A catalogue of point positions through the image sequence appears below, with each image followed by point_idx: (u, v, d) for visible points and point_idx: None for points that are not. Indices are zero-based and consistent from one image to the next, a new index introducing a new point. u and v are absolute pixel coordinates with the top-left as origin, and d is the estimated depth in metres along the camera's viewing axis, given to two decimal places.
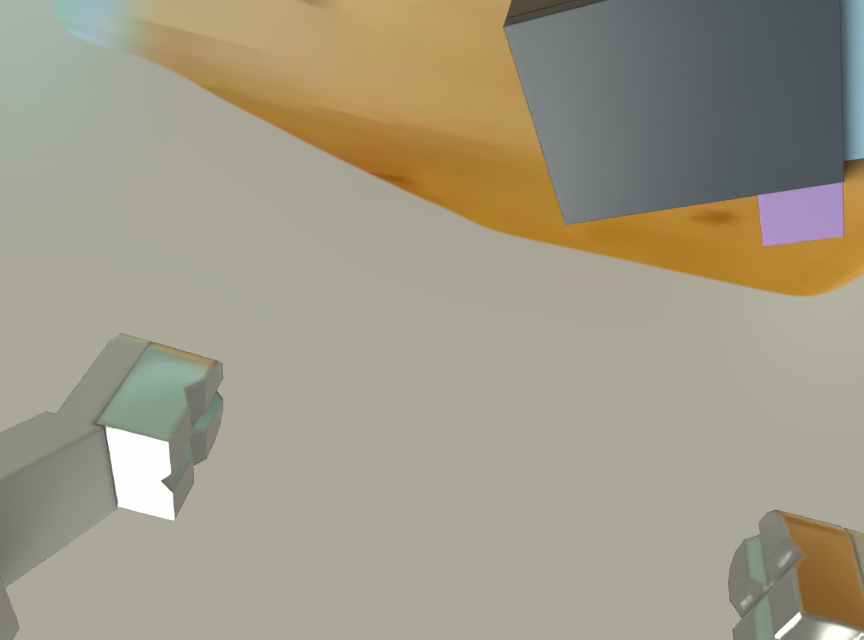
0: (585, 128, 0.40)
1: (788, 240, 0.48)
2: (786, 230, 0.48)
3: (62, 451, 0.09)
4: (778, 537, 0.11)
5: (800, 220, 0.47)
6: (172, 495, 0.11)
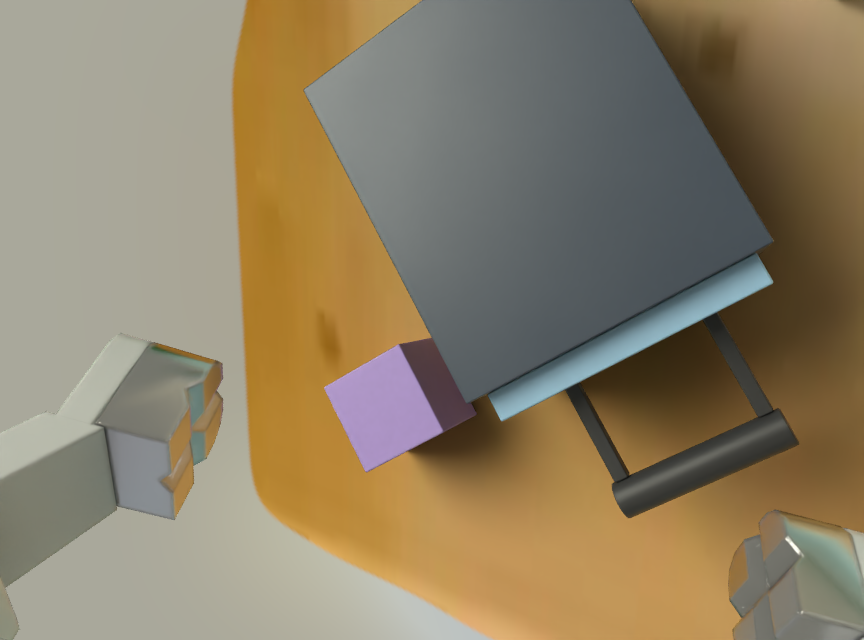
0: (452, 55, 0.29)
1: (340, 412, 0.37)
2: (353, 403, 0.37)
3: (62, 452, 0.09)
4: (778, 536, 0.11)
5: (371, 413, 0.37)
6: (172, 495, 0.11)
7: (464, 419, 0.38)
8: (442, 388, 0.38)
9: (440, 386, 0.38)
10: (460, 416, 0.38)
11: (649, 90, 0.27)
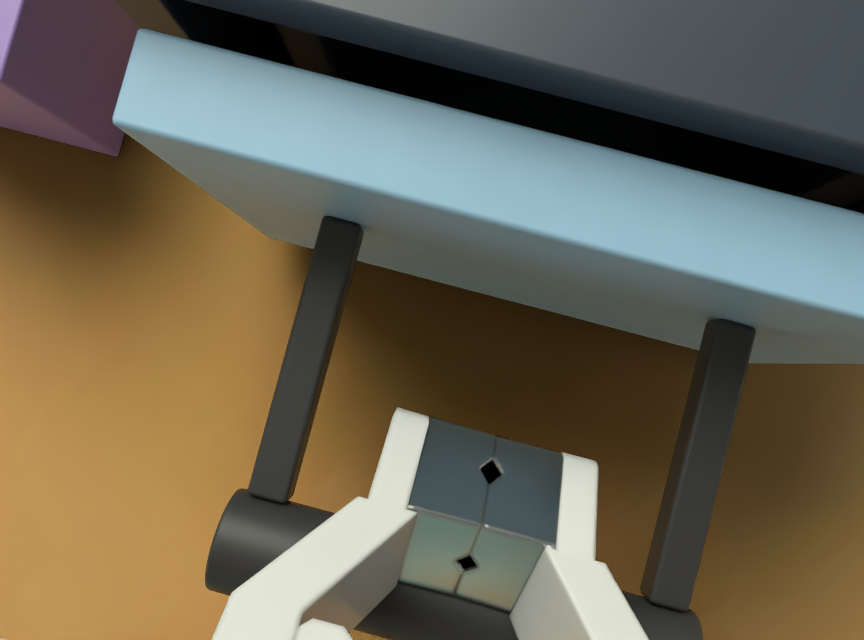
0: None
1: None
2: None
3: (386, 540, 0.09)
4: (490, 459, 0.11)
5: None
6: (462, 574, 0.10)
7: (81, 129, 0.16)
8: (90, 34, 0.16)
9: (88, 24, 0.16)
10: (77, 114, 0.16)
11: None
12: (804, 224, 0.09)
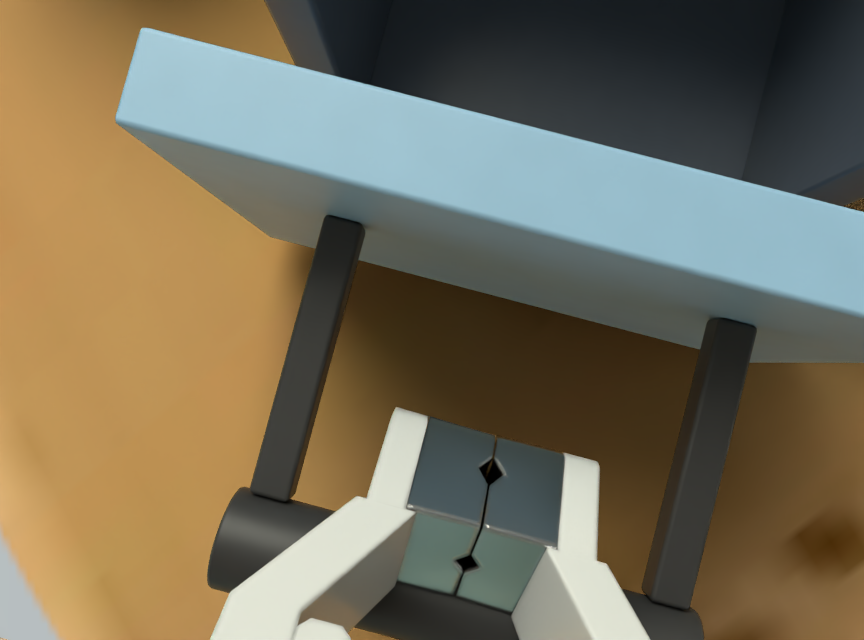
0: None
1: None
2: None
3: (386, 540, 0.09)
4: (492, 459, 0.11)
5: None
6: (461, 574, 0.10)
7: None
8: None
9: None
10: None
11: None
12: (805, 223, 0.09)
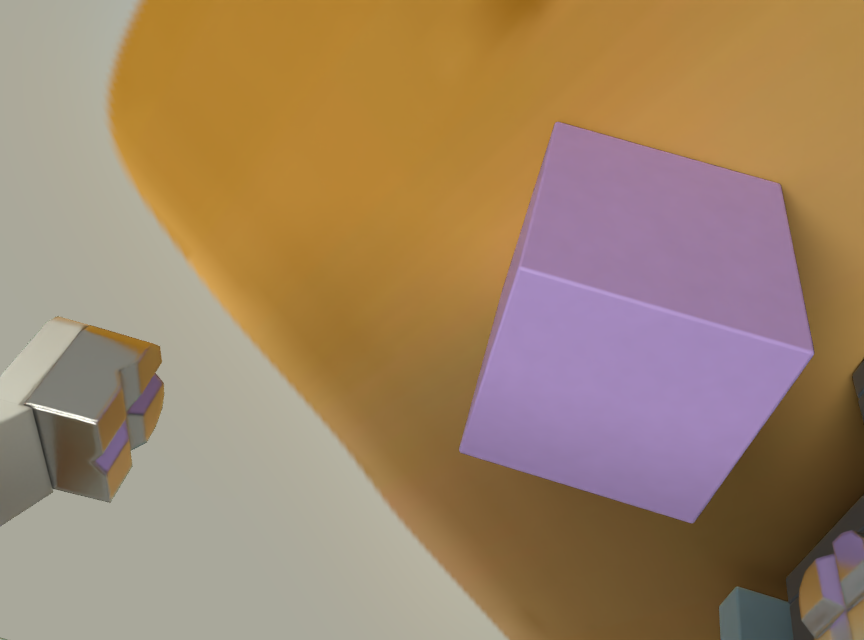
0: None
1: (510, 340, 0.13)
2: (561, 353, 0.13)
3: None
4: (856, 558, 0.11)
5: (582, 397, 0.13)
6: (105, 477, 0.11)
7: None
8: None
9: None
10: None
11: None
12: None
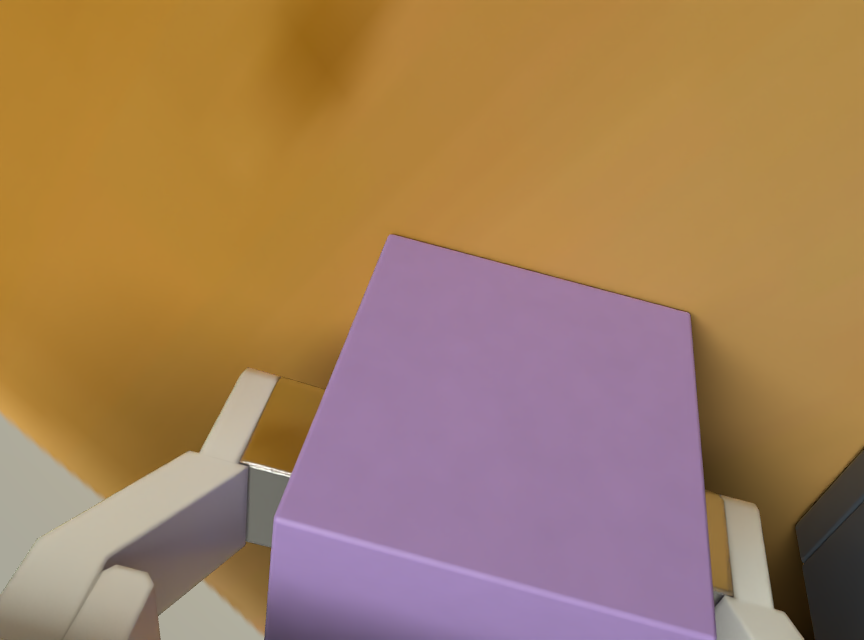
0: None
1: (288, 597, 0.09)
2: (361, 615, 0.09)
3: (211, 492, 0.09)
4: None
5: None
6: None
7: None
8: None
9: None
10: None
11: None
12: None
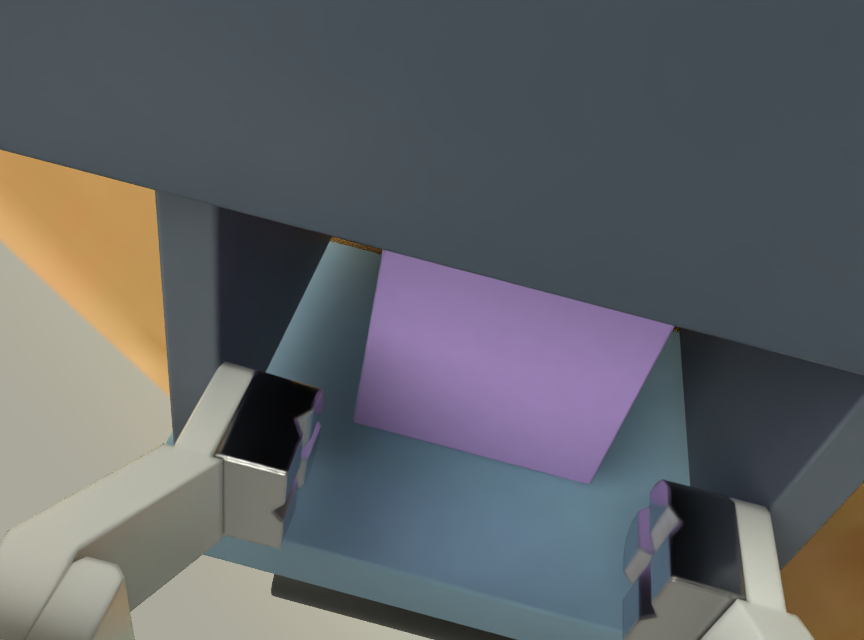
0: None
1: (388, 305, 0.12)
2: (439, 316, 0.12)
3: (184, 485, 0.09)
4: (662, 505, 0.11)
5: (466, 361, 0.13)
6: (282, 525, 0.10)
7: None
8: None
9: None
10: None
11: None
12: (577, 632, 0.14)
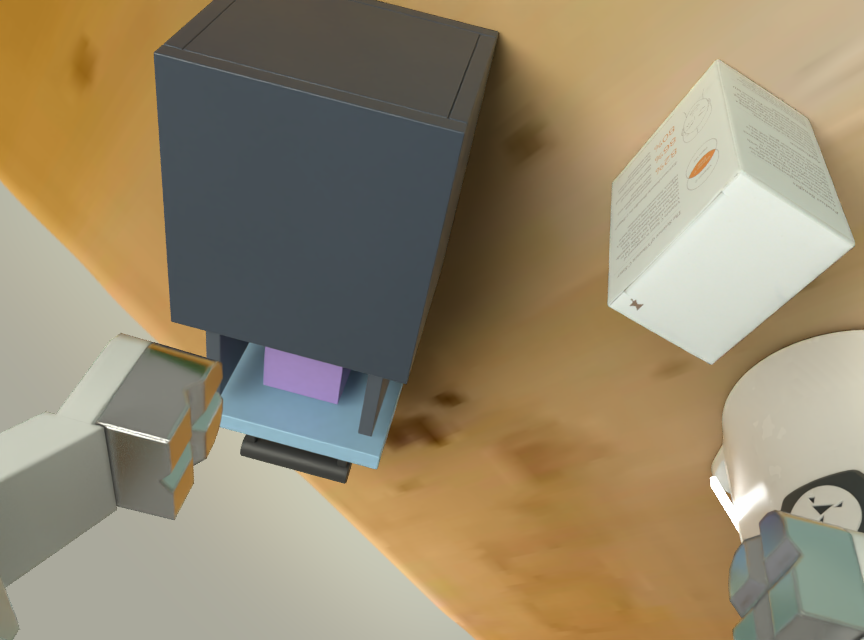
0: (299, 149, 0.31)
1: (268, 349, 0.44)
2: (283, 352, 0.44)
3: (62, 451, 0.09)
4: (777, 536, 0.11)
5: (293, 365, 0.44)
6: (172, 495, 0.11)
7: None
8: None
9: None
10: (350, 369, 0.47)
11: (408, 280, 0.34)
12: (328, 447, 0.45)
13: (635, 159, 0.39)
